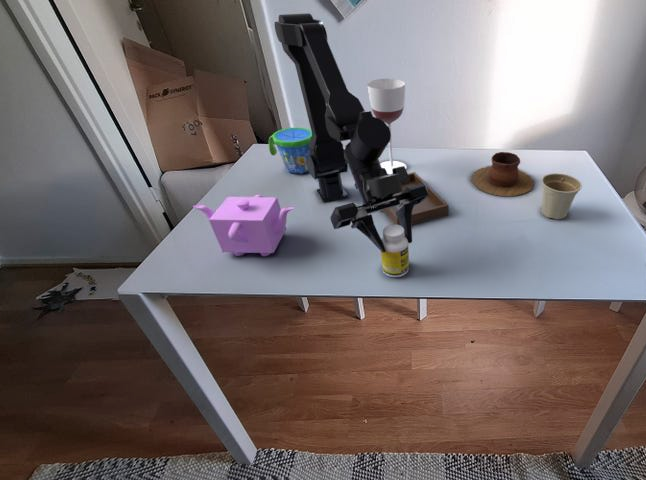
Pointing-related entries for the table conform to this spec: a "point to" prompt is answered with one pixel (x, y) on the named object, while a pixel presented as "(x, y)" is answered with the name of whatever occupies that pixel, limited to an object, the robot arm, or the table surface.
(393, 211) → the tray
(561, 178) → the flower pot
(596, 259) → the table surface
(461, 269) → the table surface
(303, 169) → the snack cup
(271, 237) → the teapot
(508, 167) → the ceramic pot
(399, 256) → the supplement bottle
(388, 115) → the wineglass
